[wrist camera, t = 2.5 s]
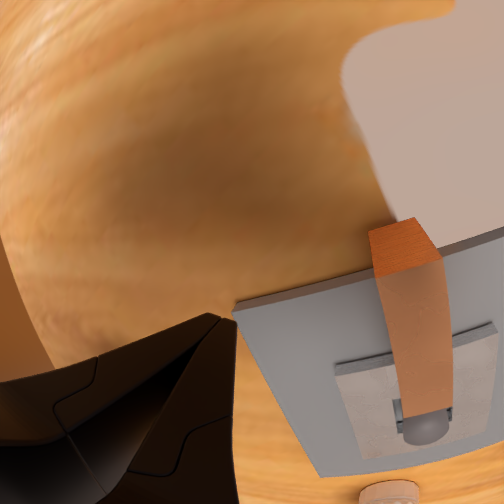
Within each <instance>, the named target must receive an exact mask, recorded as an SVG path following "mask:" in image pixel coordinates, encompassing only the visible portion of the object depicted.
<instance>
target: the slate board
mask: <svg viewBox="0 0 504 504" xmlns="http://www.w3.org/2000/svg"><path fill="white" fill-rule="evenodd" d="M437 250H438V252H439V253H440V255H441V256H442V258H443V262H444V268H445V275H446V282H447V290H448V298H449V307H450V317H451V330H452V337H453V336H456V335H459V334H463V333H466V332H469V331H472V330H475V329H477V328H480V327H483V326H486V325H489V324H491V323H494V325H495V327H496V329H497V330H498V332H499V338H498V352H497V363H496V372H495V380H494V388H493V394H492V400H491V406H490V411H489V416H488V421H487V426H486V430H485V432H482V433H479V434H476V435H473V436H470V437H466V438H463V439H460V440H456V441H453V442H449V443H446V444H442V445H438V446H434V447H430V448H426V449H421V450H417V451H412V452H407V453H402V454H396V455H391V456H385V457H378V458H371V459H363V458H362V455H361V452H360V449H359V446H358V443H357V440H356V437H355V434H354V431H353V428H352V425H351V422H350V419H349V416H348V414H347V411H346V408H345V405H344V402H343V399H342V396H341V393H340V391H339V388H338V385H337V382H336V379H335V377H334V376H335V369H336V365H340V364H345V363H350V362H355V361H360V360H365V359H370V358H374V357H379V356H383V355H387V354H392V353H393V352H392V347H391V342H390V338H389V333H388V328H387V324H386V320H385V315H384V311H383V307H382V303H381V299H380V295H379V291H378V287H377V284H376V280H375V274H374V268H370V269H367V270H363V271H360V272H356V273H352V274H349V275H345V276H341V277H338V278H334V279H330V280H327V281H323V282H319V283H315V284H311V285H307V286H304V287H300V288H296V289H292V290H288V291H284V292H280V293H276V294H272V295H267V296H263V297H259V298H255V299H251V300H246V301H242V302H238V303H237V304H236V306H235V307H234V309H233V310H232V312H231V314H232V316H233V318H234V320H235V321H236V322H237V326H238V328H239V330H240V332H241V334H242V336H243V338H244V340H245V341H246V343H247V345H248V347H249V349H250V351H251V353H252V355H253V357H254V359H255V361H256V363H257V365H258V367H259V369H260V370H261V372H262V374H263V376H264V378H265V380H266V382H267V384H268V386H269V387H270V389H271V391H272V393H273V395H274V397H275V399H276V400H277V402H278V404H279V406H280V408H281V410H282V411H283V413H284V415H285V417H286V419H287V420H288V422H289V424H290V426H291V428H292V429H293V431H294V433H295V435H296V437H297V438H298V440H299V442H300V444H301V445H302V447H303V449H304V451H305V452H306V454H307V456H308V458H309V459H310V461H311V463H312V464H313V466H314V468H315V470H316V471H317V473H318V475H319V476H320V478H323V477H339V476H352V475H361V474H370V473H378V472H385V471H391V470H397V469H403V468H408V467H413V466H418V465H423V464H427V463H432V462H436V461H440V460H444V459H448V458H451V457H455V456H458V455H462V454H465V453H468V452H472V451H475V450H478V449H481V448H484V447H487V446H489V445H492V444H495V443H498V442H500V441H503V440H504V227H501V228H498V229H495V230H493V231H489V232H486V233H484V234H481V235H478V236H475V237H472V238H469V239H466V240H462V241H459V242H457V243H453V244H450V245H447V246H444V247H441V248H437ZM394 405H395V411H396V417H397V423H402V422H403V439H404V441H405V442H406V443H408V444H410V445H415V446H421V445H427V444H431V443H433V442H436V441H438V440H439V439H441V438H442V437H443V436H444V435H445V434H446V433H447V432H448V430H449V421H448V415H447V411H450V407H448V408H444V409H441V410H437V411H433V412H429V413H425V414H421V415H417V416H412V417H408V418H403V410H402V403H401V398H398V399H394Z"/></svg>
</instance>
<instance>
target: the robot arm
mask: <svg viewBox="0 0 504 504" xmlns="http://www.w3.org/2000/svg"><path fill="white" fill-rule="evenodd" d="M236 343H237V322H236V321H234V320H230V319H227V318H221V316H218V315H215V314H212V313H204V314H202V315H199V316H197V317H195V318H192V319H190V320H187V321H185V322H182V323H180V324H178V325H175V326H173V327H170V328H168V329H165V330H163V331H160V332H158V333H155V334H153V335H150V336H148V337H145V338H143V339H140V340H138V341H135V342H132V343H130V344H127V345H125V346H122V347H119V348H117V349H114V350H112V351H109V352H106V353H104V354H101V355H99V356H98V357H93V358H90V359H87V360H85V361H82V362H79V363H76V364H73V365H70V366H67V367H64V368H60V369H56V370H53V371H49V372H45V373H41V374H37V375H32V376H28V377H24V378H19V379H15V380H10V381H6V382H0V504H239V498H238V492H237V485H236V478H235V472H234V462H233V451H232V428H233V418H232V417H233V403H234V382H235V362H236Z"/></svg>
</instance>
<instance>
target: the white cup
mask: <svg viewBox="0 0 504 504" xmlns="http://www.w3.org/2000/svg"><path fill="white" fill-rule="evenodd" d="M358 504H419V489H418V486H417V485H416V484H415V483H414V482H411V481H406V480H391V481H385V482H380V483H376V484H373V485H370V486H368V487H366V488H365V489H364V490H362V491H361V492H360V497H359V503H358Z"/></svg>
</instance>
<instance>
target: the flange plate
mask: <svg viewBox="0 0 504 504" xmlns="http://www.w3.org/2000/svg"><path fill="white" fill-rule="evenodd" d="M368 235H369V241H370V247H371V253H372V260H373V267H374V274H375V280H376V284H377V287H378V291H379V295H380V299H381V303H382V307H383V311H384V315H385V320H386V324H387V328H388V333H389V338H390V342H391V347H392V352H393V353H392V354H387V355H383V356H379V357H374V358H370V359H365V360H360V361H355V362H350V363H345V364H340V365H336V369H335V376H334V377H335V379H336V382H337V385H338V388H339V391H340V393H341V396H342V399H343V402H344V405H345V408H346V411H347V414H348V416H349V419H350V422H351V425H352V428H353V431H354V434H355V437H356V440H357V443H358V446H359V449H360V452H361V455H362V458H363V459H371V458H378V457H385V456H391V455H396V454H402V453H407V452H412V451H417V450H421V449H426V448H430V447H434V446H438V445H442V444H446V443H449V442H453V441H456V440H460V439H463V438H466V437H470V436H473V435H476V434H479V433H482V432H485V430H486V426H487V421H488V416H489V411H490V406H491V400H492V394H493V388H494V380H495V372H496V363H497V352H498V338H499V332H498V330H497V329H496V327H495V325H494V323H491V324H489V325H486V326H483V327H480V328H477V329H475V330H472V331H469V332H466V333H463V334H459V335H456V336H453V337H452V330H451V317H450V307H449V298H448V290H447V282H446V275H445V268H444V262H443V258H442V256H441V255H440V253H439V252H438V250H437V249H436V247H435V246H434V244H433V243H432V241H431V240H430V239H429V237H428V235H427V234H426V233H425V231H424V230H423V228H422V227H421V225H420V224H419V223H418V221H417V220H416V219H415V218H410V219H407V220H404V221H401V222H397V223H394V224H391V225H387V226H384V227H381V228H378V229H374V230H371V231H368ZM398 398H401V403H402V410H403V418H408V417H412V416H417V415H421V414H425V413H429V412H433V411H437V410H441V409H444V408H448V407H450V411H447V415H448V421H449V430H448V432H447V433H446V434H445V435H444V436H443V437H442V438H441V439H439V440H438V441H436V442H433V443H431V444H427V445H421V446H415V445H410V444H408V443H406V442H405V441H404V439H403V422H402V423H397V417H396V411H395V405H394V399H398Z"/></svg>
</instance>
